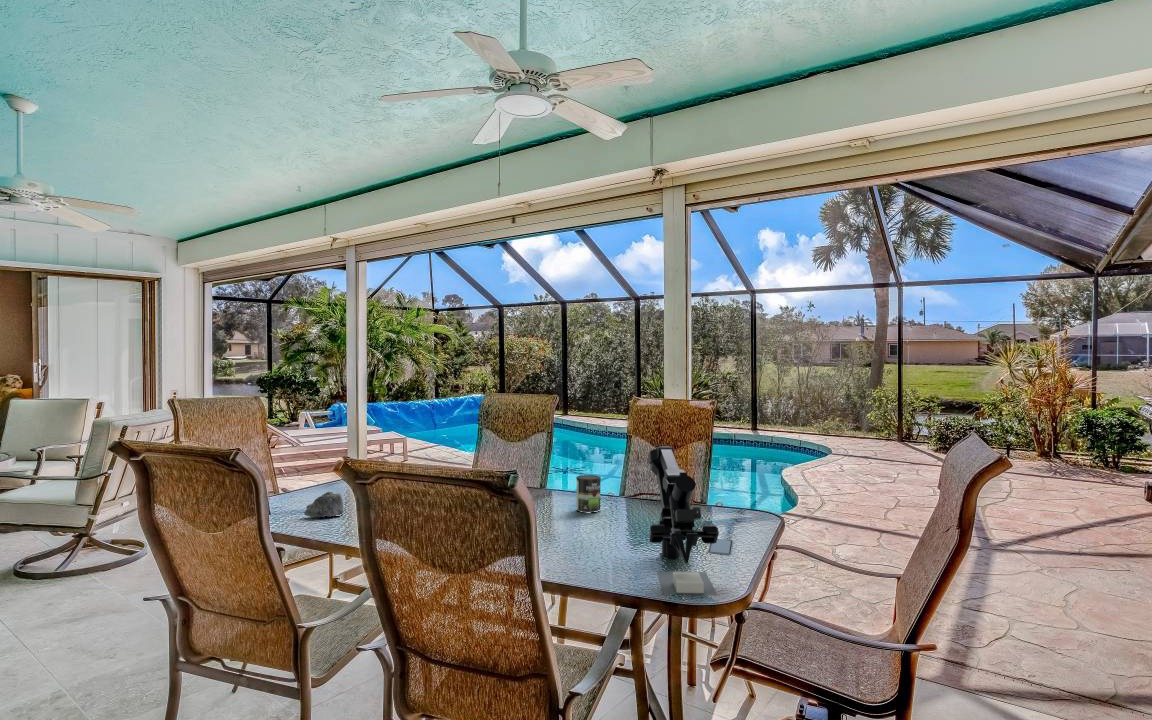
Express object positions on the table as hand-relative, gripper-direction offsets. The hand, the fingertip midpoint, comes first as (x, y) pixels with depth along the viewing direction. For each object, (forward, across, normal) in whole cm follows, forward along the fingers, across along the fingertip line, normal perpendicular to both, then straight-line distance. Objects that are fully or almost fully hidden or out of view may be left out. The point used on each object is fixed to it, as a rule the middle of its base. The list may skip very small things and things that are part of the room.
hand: (686, 562), depth 156 cm
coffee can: (-55, -28, +66) cm, 90 cm away
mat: (+4, 0, +6) cm, 7 cm away
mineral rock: (-44, -133, +55) cm, 151 cm away
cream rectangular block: (+2, 0, +5) cm, 5 cm away
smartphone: (-21, +17, +32) cm, 42 cm away
